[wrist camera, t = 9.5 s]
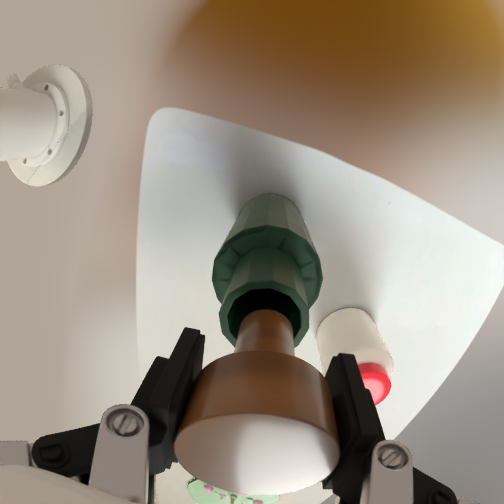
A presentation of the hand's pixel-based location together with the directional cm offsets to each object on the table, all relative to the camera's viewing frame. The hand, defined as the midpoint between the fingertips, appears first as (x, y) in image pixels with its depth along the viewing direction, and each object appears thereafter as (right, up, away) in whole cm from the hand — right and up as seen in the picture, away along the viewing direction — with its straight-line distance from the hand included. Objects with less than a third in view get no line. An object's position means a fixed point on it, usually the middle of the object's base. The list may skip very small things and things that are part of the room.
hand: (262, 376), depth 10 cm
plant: (-5, -52, +43) cm, 67 cm away
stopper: (0, +1, +3) cm, 3 cm away
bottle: (+2, +7, +23) cm, 24 cm away
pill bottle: (+12, -6, +26) cm, 29 cm away
